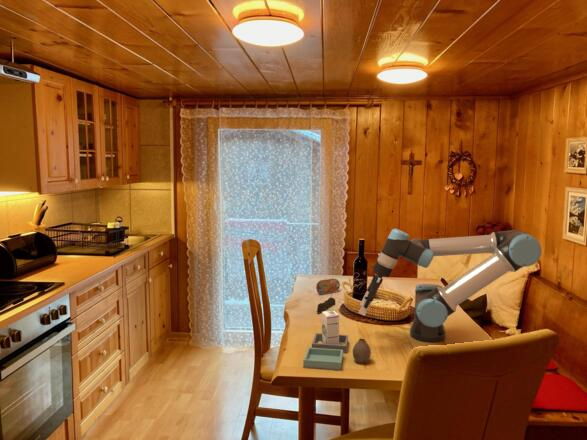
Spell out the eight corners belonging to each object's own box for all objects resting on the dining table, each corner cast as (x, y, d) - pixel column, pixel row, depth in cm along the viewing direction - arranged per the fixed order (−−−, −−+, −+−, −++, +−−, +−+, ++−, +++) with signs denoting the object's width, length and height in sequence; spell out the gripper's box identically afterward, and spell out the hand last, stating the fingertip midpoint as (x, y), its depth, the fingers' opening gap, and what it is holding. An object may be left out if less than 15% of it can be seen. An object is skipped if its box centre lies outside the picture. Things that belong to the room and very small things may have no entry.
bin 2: (343, 357, 189) (343, 349, 189) (340, 370, 177) (340, 362, 177) (307, 354, 192) (307, 347, 191) (303, 367, 180) (303, 359, 179)
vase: (354, 356, 190) (354, 335, 188) (371, 358, 188) (372, 337, 186) (351, 363, 183) (351, 341, 182) (369, 366, 181) (369, 343, 180)
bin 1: (348, 342, 205) (348, 335, 204) (346, 353, 193) (346, 346, 192) (315, 339, 207) (315, 333, 207) (311, 350, 195) (311, 343, 195)
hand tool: (328, 303, 259) (328, 295, 258) (335, 305, 257) (335, 296, 256) (312, 314, 242) (312, 305, 242) (319, 315, 240) (319, 306, 240)
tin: (318, 295, 273) (318, 281, 272) (315, 294, 275) (315, 280, 274) (340, 292, 280) (340, 278, 279) (337, 290, 283) (337, 276, 282)
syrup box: (339, 348, 198) (340, 314, 196) (326, 349, 196) (326, 315, 194) (334, 343, 203) (334, 310, 202) (321, 344, 202) (321, 311, 200)
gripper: (376, 256, 210) (355, 298, 213) (375, 265, 186) (352, 313, 189) (392, 264, 209) (371, 306, 212) (393, 274, 185) (369, 322, 188)
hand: (362, 310), depth 200 cm, fingers open, 13 cm apart
